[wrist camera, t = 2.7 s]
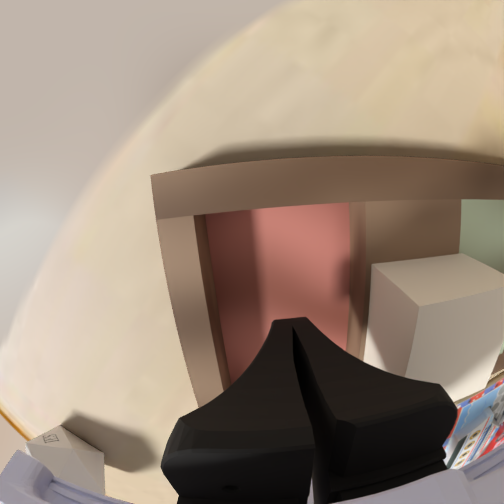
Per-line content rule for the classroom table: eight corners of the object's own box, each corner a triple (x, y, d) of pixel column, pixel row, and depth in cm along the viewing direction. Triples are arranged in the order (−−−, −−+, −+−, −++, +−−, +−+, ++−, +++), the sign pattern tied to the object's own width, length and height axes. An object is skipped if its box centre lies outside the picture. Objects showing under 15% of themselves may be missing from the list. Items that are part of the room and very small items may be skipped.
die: (80, 408, 18) (-5, 439, 11) (136, 491, 15) (50, 528, 8) (82, 422, 23) (16, 447, 15) (125, 485, 20) (59, 515, 12)
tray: (530, 331, 14) (546, 343, 12) (212, 402, 16) (206, 431, 13) (553, 176, 11) (574, 180, 9) (170, 174, 12) (150, 175, 10)
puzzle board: (448, 397, 17) (462, 417, 14) (574, 306, 15) (586, 314, 12) (406, 508, 24) (409, 519, 22) (512, 447, 22) (517, 455, 19)
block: (445, 344, 12) (484, 387, 8) (363, 363, 12) (391, 422, 8) (462, 253, 10) (519, 282, 7) (371, 263, 11) (419, 306, 7)
